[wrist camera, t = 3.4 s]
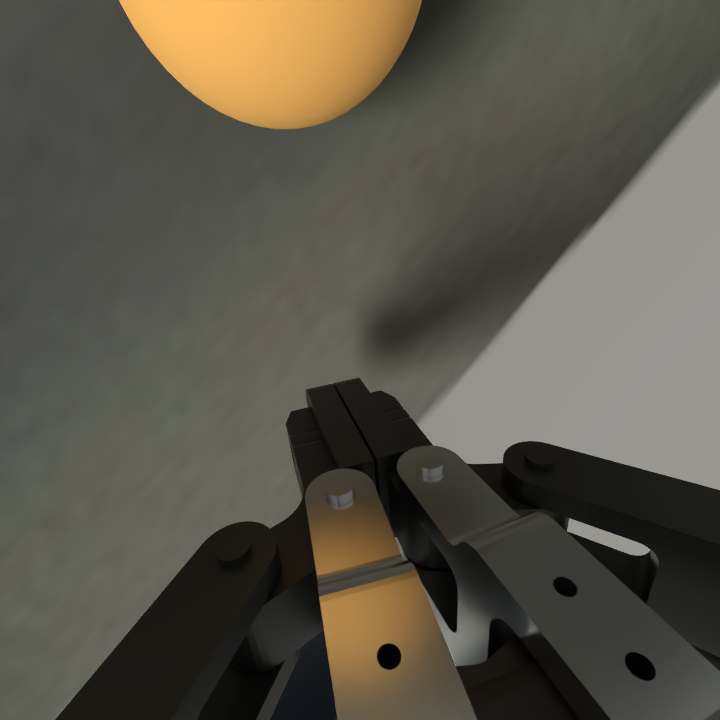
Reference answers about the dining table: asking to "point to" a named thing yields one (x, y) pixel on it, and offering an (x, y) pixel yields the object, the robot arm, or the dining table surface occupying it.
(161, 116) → the dining table surface
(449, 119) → the dining table surface
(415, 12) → the ball
